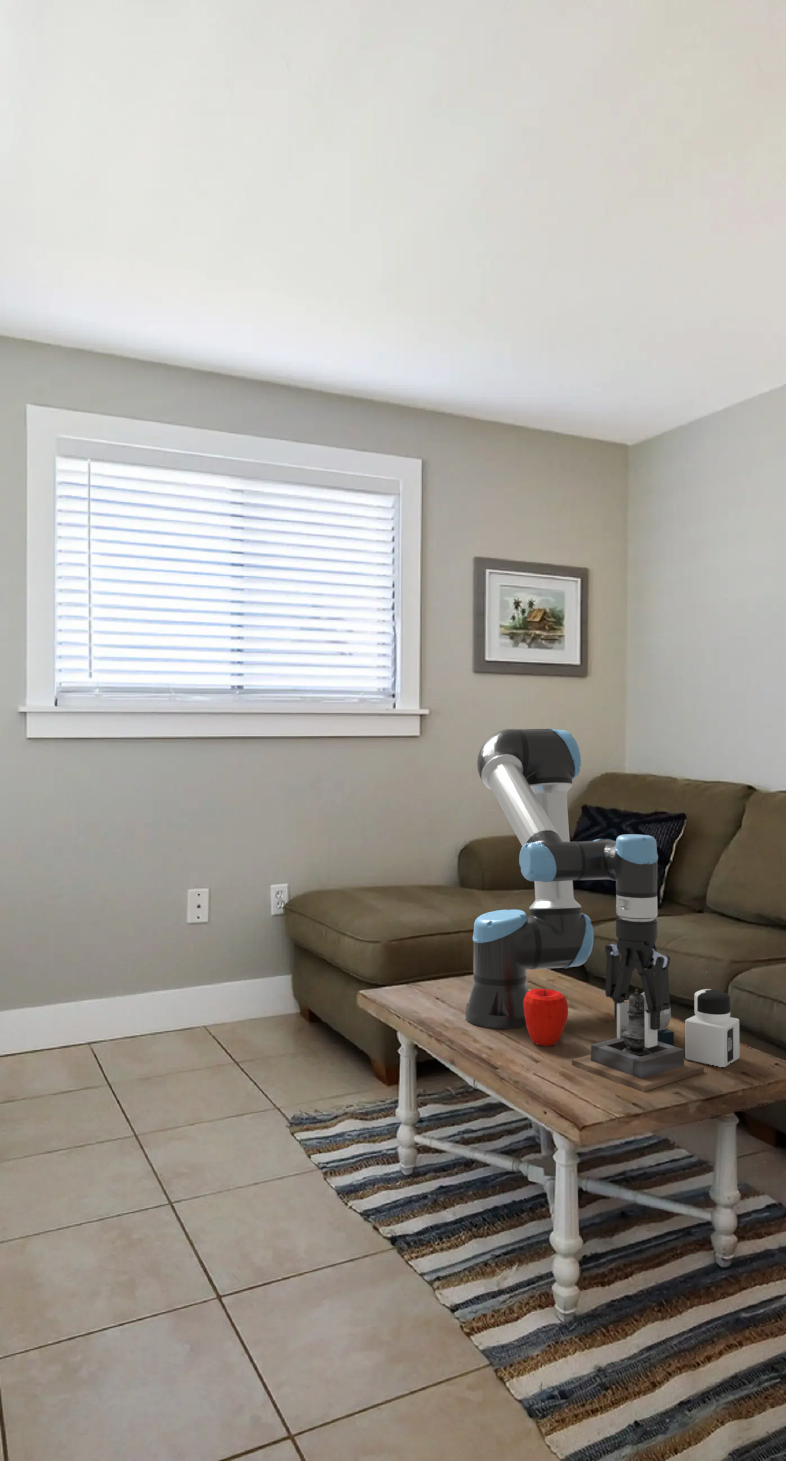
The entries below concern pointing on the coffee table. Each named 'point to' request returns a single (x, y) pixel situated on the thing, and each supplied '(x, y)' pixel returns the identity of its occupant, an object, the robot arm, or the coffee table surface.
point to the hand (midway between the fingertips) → (636, 1041)
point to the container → (712, 1030)
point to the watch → (663, 1026)
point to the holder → (638, 1064)
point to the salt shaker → (635, 1026)
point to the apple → (545, 1015)
